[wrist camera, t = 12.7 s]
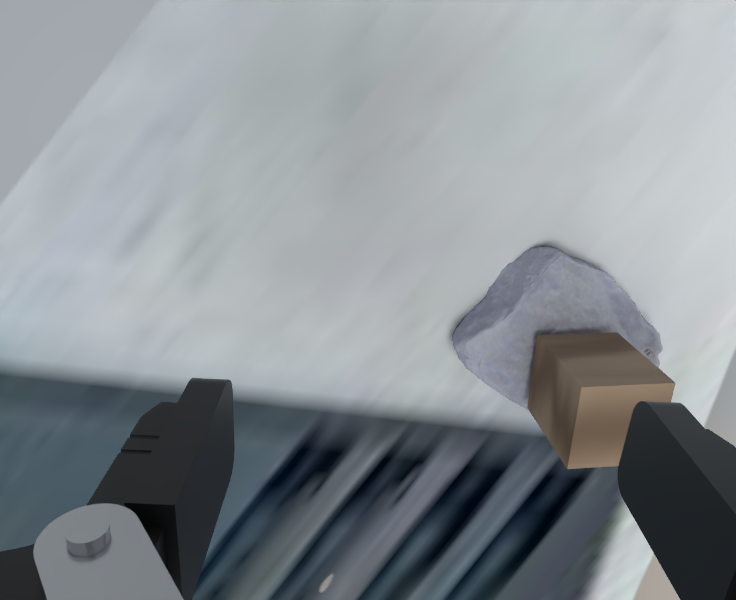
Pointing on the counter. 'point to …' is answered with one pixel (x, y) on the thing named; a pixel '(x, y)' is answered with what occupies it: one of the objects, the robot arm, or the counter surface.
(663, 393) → the walnut block
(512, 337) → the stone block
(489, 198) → the counter surface
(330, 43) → the counter surface
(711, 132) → the counter surface
